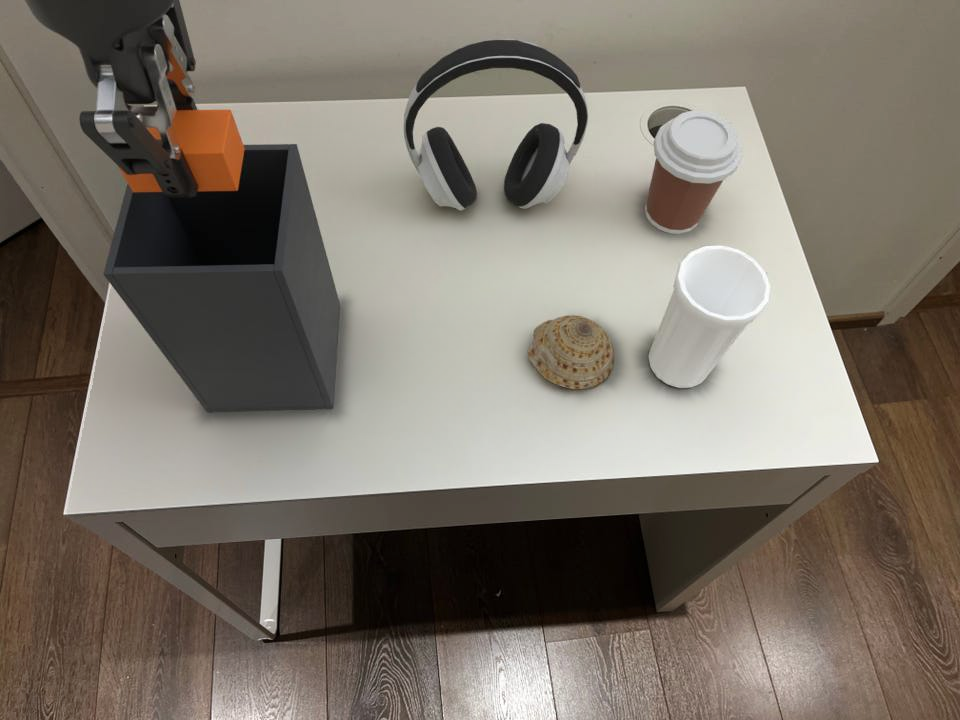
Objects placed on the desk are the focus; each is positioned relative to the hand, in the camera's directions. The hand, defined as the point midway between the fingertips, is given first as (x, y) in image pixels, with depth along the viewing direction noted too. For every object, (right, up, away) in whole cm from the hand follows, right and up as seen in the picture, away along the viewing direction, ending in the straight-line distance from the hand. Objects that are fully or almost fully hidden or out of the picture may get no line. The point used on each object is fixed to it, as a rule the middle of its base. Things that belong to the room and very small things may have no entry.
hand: (188, 167), depth 48 cm
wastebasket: (-1, -13, +23) cm, 26 cm away
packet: (0, 0, 0) cm, 0 cm away
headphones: (+21, +6, +34) cm, 41 cm away
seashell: (+29, -13, +24) cm, 40 cm away
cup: (+40, -14, +24) cm, 49 cm away
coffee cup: (+43, +4, +34) cm, 54 cm away
